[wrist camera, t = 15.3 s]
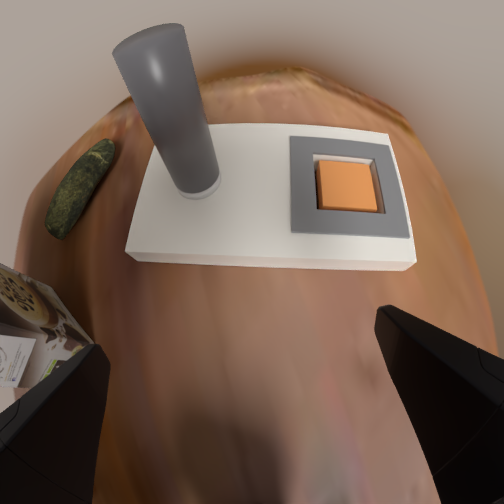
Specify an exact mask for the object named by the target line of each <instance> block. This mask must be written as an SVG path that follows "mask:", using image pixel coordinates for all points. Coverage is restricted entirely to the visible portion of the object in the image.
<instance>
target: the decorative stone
mask: <svg viewBox="0 0 504 504" xmlns="http://www.w3.org/2000/svg"><path fill="white" fill-rule="evenodd" d="M114 154H115V145H114V143H113V142H112V141H111V140H109V139H103V140H101V141H100V142H98V143H97V144H95V145H94V146H93V147H91V148H90V149H89V150H88V151H87V152H85V153H84V154H83V155H82V156H81V157H80V158H79V159H78V160H77V161H76V162H75V164H74V165H73V166H72V167H71V169H70V170H69V172H68V173H67V174H66V176H65V177H64V179H63V180H62V181H61V183H60V185H59V186H58V188H57V190H56V192H55V194H54V196H53V198H52V201H51V203H50V206H49V209H48V212H47V215H46V219H45V227H46V228H47V230H48V232H49V233H50V234H51V235H53V236H54V237H56V238H57V239H60V240H63V239H64V238H65V237H66V235H67V234H68V233H69V231H70V230H71V229H72V227H73V226H74V224H75V223H76V221H77V220H78V218H79V217H80V215H81V213H82V211H83V209H84V208H85V206H86V204H87V202H88V200H89V198H90V196H91V194H92V192H93V191H94V189H95V187H96V185H97V184H98V182H99V181H100V180H101V178H102V177H103V176H104V174H105V173H106V171H107V170H108V168H109V167H110V165H111V163H112V160H113V158H114Z"/></svg>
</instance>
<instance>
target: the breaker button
mask: <svg viewBox="0 0 504 504" xmlns="http://www.w3.org/2000/svg"><path fill="white" fill-rule="evenodd" d="M316 175H317V188H318V203H319V210H337V211H353V212H367V213H375V212H376V211H377V205H376V199H375V193H374V188H373V182H372V177H371V172H370V168H369V165H367V164H357V163H347V162H336V161H323V160H319V164H318V168H317V173H316Z"/></svg>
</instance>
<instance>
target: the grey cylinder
mask: <svg viewBox="0 0 504 504" xmlns="http://www.w3.org/2000/svg"><path fill="white" fill-rule="evenodd" d="M112 55H113V57H114V59H115V61H116V64H117V66H118V68H119V70H120V72H121V75H122V77H123V79H124V81H125V83H126V86H127V88H128V90H129V92H130V94H131V96H132V99H133V101H134V103H135V105H136V107H137V109H138V111H139V113H140V115H141V118H142V120H143V122H144V124H145V126H146V128H147V130H148V132H149V134H150V136H151V138H152V140H153V142H154V144H155V146H156V148H157V150H158V152H159V154H160V156H161V158H162V160H163V162H164V164H165V166H166V168H167V170H168V172H169V174H170V176H171V178H172V180H173V182H174V184H175V186H176V188H177V189H178V191H179V193H180V194H181V195H182V196H183V197H185V198H187V199H191V200H199V199H203V198H206V197H208V196H210V195H211V194H213V193H214V192H215V191H216V190H217V189H218V187H219V185H220V183H221V173H220V169H219V166H218V162H217V158H216V154H215V150H214V146H213V142H212V138H211V135H210V131H209V127H208V123H207V119H206V115H205V111H204V107H203V103H202V99H201V95H200V91H199V87H198V83H197V80H196V75H195V71H194V67H193V63H192V59H191V55H190V51H189V47H188V43H187V39H186V34H185V30H184V27H183V26H182V25H181V24H176V23H169V24H162V25H157V26H153V27H150V28H147V29H144V30H142V31H140V32H137V33H135V34H133V35H132V36H130V37H128V38H126V39H125V40H123V41H122V42H121V43H120V44H118V45H117V46H116V47H115V49H114V50H113V52H112Z"/></svg>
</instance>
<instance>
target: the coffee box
mask: <svg viewBox="0 0 504 504" xmlns="http://www.w3.org/2000/svg"><path fill="white" fill-rule="evenodd" d="M88 344H94V342H93V341H92V340H91V339H90V337H89V336H88V335H87V334H86V333H85V331H84V330H83V329H82V328H81V326H80V325H79V324H78V323H77V321H76V320H75V319H74V318H73V316H72V315H71V314H70V312H69V311H68V310H67V308H66V307H65V306H64V304H63V303H62V302H61V300H60V299H59V297H58V296H57V295H56V293H55V292H54V290H53V289H52V287H50V286H48V285H46V284H43V283H41V282H39V281H37V280H35V279H32V278H30V277H28V276H26V275H24V274H21V273H20V272H17V271H15V270H13V269H11V268H9V267H7V266H5V265H3V264H1V263H0V387H18V388H33V387H34V386H35V385H36V384H38V383H39V382H40V381H41V380H43V379H44V378H45V377H46V376H48V375H49V374H50V373H52V372H53V371H54V370H55V369H57V368H58V367H59V366H60V365H62V364H63V363H64V362H66V361H67V360H68V359H69V358H71V357H72V356H73V355H75V354H76V353H77V352H78V351H80V350H81V349H82V348H84V347H85V346H86V345H88Z"/></svg>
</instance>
